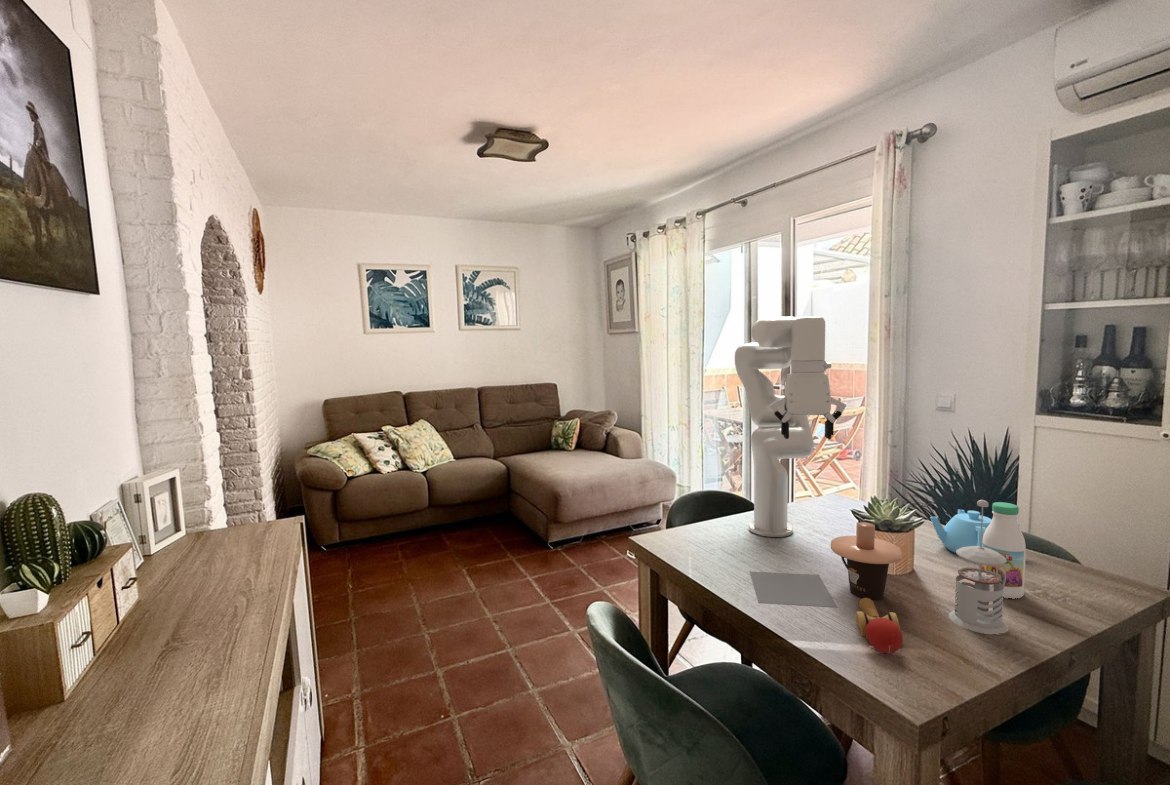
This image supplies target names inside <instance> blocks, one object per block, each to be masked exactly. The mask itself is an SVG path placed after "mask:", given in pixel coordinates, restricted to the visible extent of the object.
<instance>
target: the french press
mask: <svg viewBox="0 0 1170 785" xmlns="http://www.w3.org/2000/svg"><path fill="white" fill-rule="evenodd" d="M976 506H977V507H981V540H980V546H968V547H962V548H960V549H958V550H956V553H957V554H956V553H955V554H956V555H957V556H958V557H959V558H960V559H962V560H964V561H966V562H970V563H973V564H977V565H979V568H977V567H969V566H968V567H962V568H960V569H958V570H957V573H958V575H956V576H955V593H954V594H955V595H954V609H953V610H951V611H950V612H948V618H949V619H950V620H951V621H952V622H953V623H955V625H957V626H959V627H961V628H963V629H966V630H968V629H969V631H970V632H971V631H972V632H975V633H978V634H979V633H980V634H983V633H984V635H993V634H997V635H1000V634H999V633H1004V632H1005V631H1006V630H1007V629H1008V630H1009V627H1008V628H1007V626H1008V624H1007V623H1005V621H1003V617H1004V616H1003V614H1004V613H1003V612H1004V610H1003V607H1004V602H1003V601H1004V598H1003V593H1004V585H1005V582H1006V568H1005V565H1004V564H1005V563H1006V558H1005V557H1003V556H1002V555H1001V554H999V553H998V552H996V551H994V550H992V549H989V548H985V547H982V524H983V516H984V508H989V502H988V501H987V500H984V499H980V500H978V501H977V502H976ZM981 565H988V566H994V567H996V574H994V573H992V572H991V571H990V572H989V571H987V570H983V569H982V570H981ZM999 565H1003V566H1004V569H1005V578H1004V583H1003V585H1002V584H1001V583H1000V582H1002V578H1001V577H1000V576H999V575H997V574H998V568H997V566H999ZM963 580H966V581H963ZM960 581H963V582H960ZM967 581H970V582H967ZM971 582H973V583H974V584H973V583H971ZM990 585H993V586H992V587H991V588H990ZM993 587H994V591H991V589H992V588H993ZM990 602H992V604H990ZM989 609H992V610H989ZM1004 634H1005V633H1004Z"/></svg>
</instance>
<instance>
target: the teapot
mask: <svg viewBox="0 0 1170 785" xmlns="http://www.w3.org/2000/svg"><path fill="white" fill-rule="evenodd" d="M981 516H982V514H981V512H980V511H977V510H967V512H965V510H964V509H959V508H958V509H957V514H955V515H953V517H952V518H950V519H949V521H947V523H946V525H945V526H944V527H943V525H942V523H941V522H940V520H939V517H938V516H930V517H929V520H930V521H931V523H932V525H933V528H934V530H935V532H936V535H937V537H938V539H939V540H940V542H941V543H942V545H944V546H945V548H946V549H947V550H948V551H949V552H951V553H953V552H954V553H953V554H956V555H957V553H956V550H958V549H960V548H962V547H968V546H980V540H981ZM991 521H992V518H990V517H988V516H985V515H983V524H982V541H983V535H984V533H985V530H986V529H987V527H988V526H989V524H990V523H991ZM1018 526H1019V527H1020V523H1019V522H1018Z"/></svg>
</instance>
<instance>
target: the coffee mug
mask: <svg viewBox="0 0 1170 785" xmlns="http://www.w3.org/2000/svg"><path fill="white" fill-rule="evenodd" d="M840 558H841V560H842V563H843V565H844V566H845V568H846V569H847V573H848V574H847V576H848V584H849V592H850V594H852V596H854V597H856V598H859V599H860V600H861V599H863V598H869V599H871V600H872V601H880V600H882V599H883V598H884V596H885V590H886V584H887V580H888V579H887V578H888V571H889V566H890V563H889V564H871V563H863V562H858V561H854V560H850V559H847V558H844V557H842V556H840Z"/></svg>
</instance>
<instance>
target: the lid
mask: <svg viewBox="0 0 1170 785" xmlns="http://www.w3.org/2000/svg"><path fill="white" fill-rule="evenodd" d="M855 534H856V535H842V536H838V537H834V538H833V539H831V540H830V549H831V551H832V552H833V553H834V554H836V555H837V556H839V557H841V556H842V557H844V559H846V560H847V559H850V560H854V561H858V562H863V563H871V564H889V565H890V564H894V563H897V562H899V561H901V559H902V556H903V554H902V553H903V552H902V551H903V550H902V549H901V548H900V547H899V546H898V545H896V544H894V543H892V542H889V541H887V540H883V539H880V538H876V537H875V536H876V525H875V524H873V523H870V522H864V521H863V522H862V521H861V522H856V533H855Z"/></svg>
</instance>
